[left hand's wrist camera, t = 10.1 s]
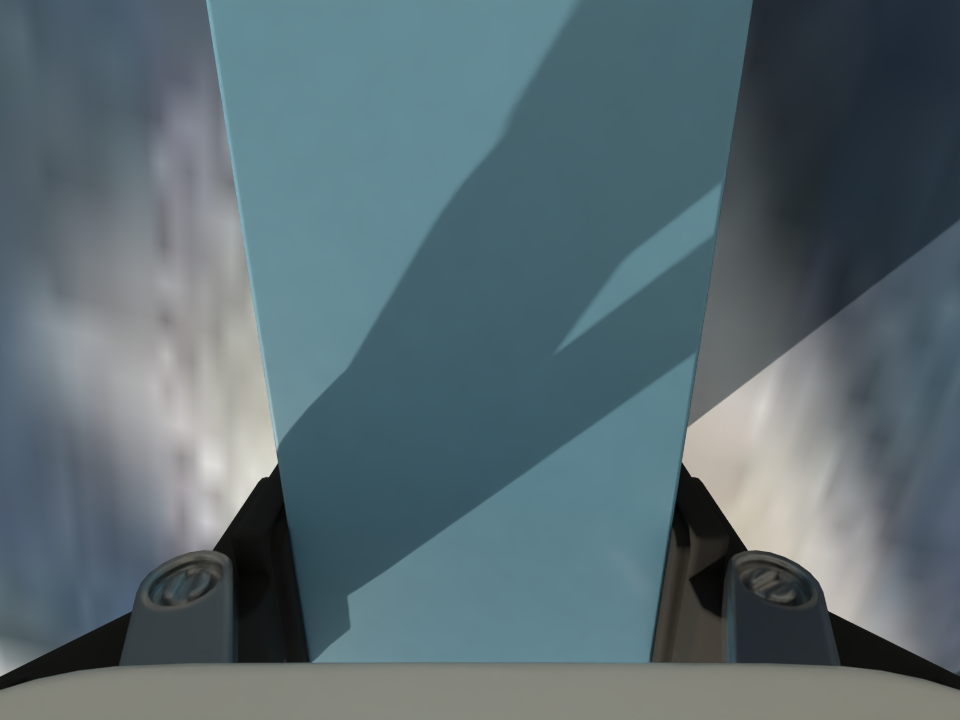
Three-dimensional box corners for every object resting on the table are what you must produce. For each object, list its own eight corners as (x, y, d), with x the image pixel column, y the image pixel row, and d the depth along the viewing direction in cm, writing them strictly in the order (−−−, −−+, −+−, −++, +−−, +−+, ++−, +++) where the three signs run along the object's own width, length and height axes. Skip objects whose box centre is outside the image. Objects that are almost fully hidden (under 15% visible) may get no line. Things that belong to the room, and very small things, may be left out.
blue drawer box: (342, -105, 12) (122, -520, 5) (617, -105, 12) (839, -522, 5) (388, 517, 18) (324, 773, 10) (571, 518, 18) (635, 773, 10)
